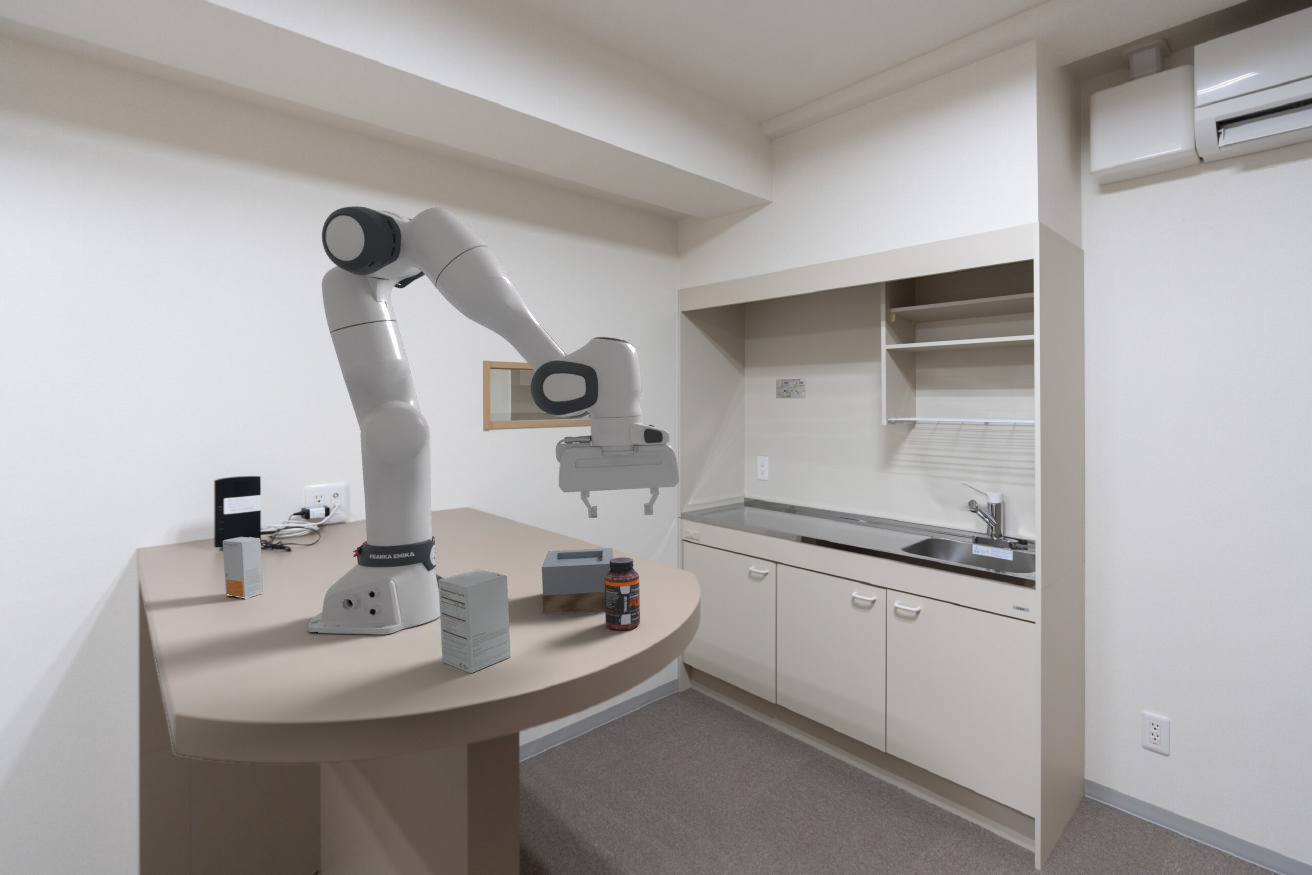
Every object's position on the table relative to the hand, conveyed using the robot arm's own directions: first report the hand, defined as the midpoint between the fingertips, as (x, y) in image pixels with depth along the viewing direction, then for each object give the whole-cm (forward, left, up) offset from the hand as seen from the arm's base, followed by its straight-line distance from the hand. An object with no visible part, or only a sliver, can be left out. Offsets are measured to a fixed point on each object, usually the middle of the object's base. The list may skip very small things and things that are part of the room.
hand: (621, 515), depth 106 cm
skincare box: (-79, +29, -19) cm, 86 cm away
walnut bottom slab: (-8, +15, -20) cm, 26 cm away
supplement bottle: (0, 0, -19) cm, 19 cm away
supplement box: (-22, -12, -19) cm, 32 cm away
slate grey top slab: (-8, +15, -16) cm, 23 cm away
